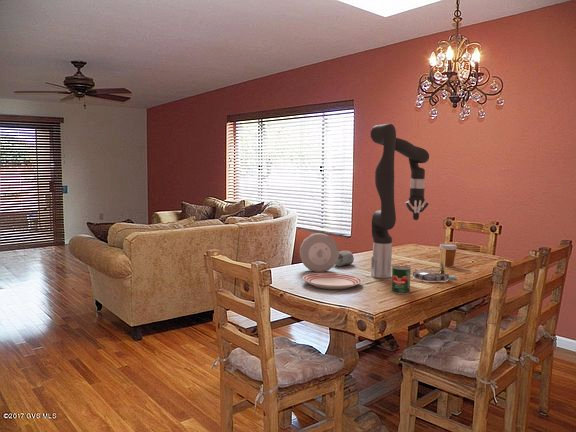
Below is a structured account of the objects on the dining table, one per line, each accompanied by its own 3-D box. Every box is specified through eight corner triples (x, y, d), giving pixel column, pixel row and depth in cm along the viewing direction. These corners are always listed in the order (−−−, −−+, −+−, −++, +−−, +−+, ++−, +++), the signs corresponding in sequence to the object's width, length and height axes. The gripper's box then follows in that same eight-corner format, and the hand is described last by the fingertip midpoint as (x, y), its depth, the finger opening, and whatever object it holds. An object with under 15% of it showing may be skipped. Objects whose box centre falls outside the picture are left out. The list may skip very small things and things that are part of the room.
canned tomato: (406, 289, 207) (407, 265, 206) (412, 294, 199) (413, 269, 198) (389, 289, 207) (390, 265, 206) (393, 294, 199) (394, 269, 198)
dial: (300, 273, 236) (300, 235, 234) (298, 269, 248) (299, 232, 246) (340, 274, 237) (340, 235, 235) (336, 269, 249) (337, 232, 247)
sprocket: (421, 281, 219) (422, 252, 218) (407, 273, 236) (408, 246, 235) (454, 280, 222) (456, 251, 220) (438, 272, 238) (439, 246, 237)
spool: (342, 262, 250) (339, 245, 254) (330, 268, 256) (327, 251, 260) (359, 266, 258) (356, 249, 262) (347, 271, 265) (344, 254, 269)
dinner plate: (324, 275, 234) (324, 269, 234) (372, 284, 217) (372, 277, 217) (290, 285, 213) (290, 278, 213) (340, 296, 196) (341, 288, 195)
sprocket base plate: (419, 283, 220) (420, 281, 220) (407, 275, 237) (407, 273, 237) (454, 282, 221) (454, 281, 221) (440, 274, 238) (440, 273, 238)
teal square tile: (450, 279, 228) (450, 277, 228) (447, 278, 231) (447, 275, 231) (456, 279, 228) (456, 276, 228) (453, 277, 231) (453, 275, 231)
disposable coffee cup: (444, 267, 256) (445, 246, 254) (435, 264, 265) (435, 243, 264) (459, 267, 258) (460, 245, 257) (449, 263, 267) (450, 243, 266)
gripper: (407, 187, 242) (405, 220, 244) (432, 188, 243) (430, 220, 245) (402, 187, 250) (401, 219, 251) (426, 187, 251) (425, 219, 252)
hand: (415, 219), depth 248 cm, fingers closed
